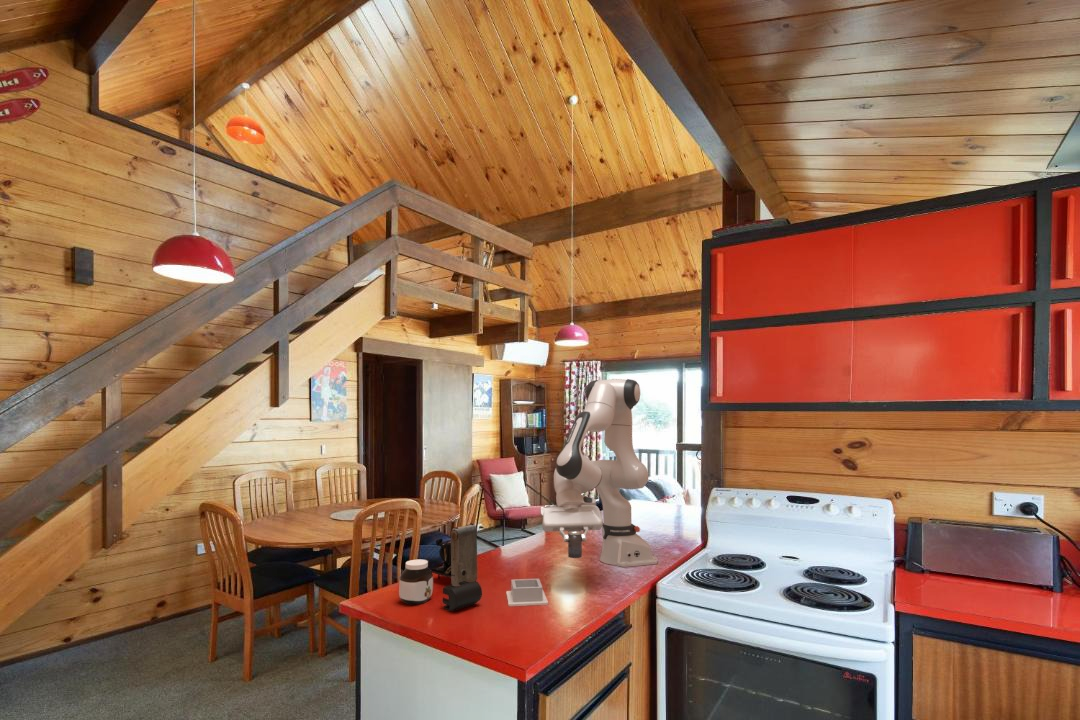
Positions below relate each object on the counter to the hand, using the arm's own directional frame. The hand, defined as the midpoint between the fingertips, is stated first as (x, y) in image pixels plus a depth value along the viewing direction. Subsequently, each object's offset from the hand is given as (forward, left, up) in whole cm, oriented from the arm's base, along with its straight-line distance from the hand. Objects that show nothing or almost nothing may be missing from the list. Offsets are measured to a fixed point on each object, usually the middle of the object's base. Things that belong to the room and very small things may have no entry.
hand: (575, 540), depth 175 cm
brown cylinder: (0, -1, -5) cm, 5 cm away
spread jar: (+51, -2, -17) cm, 54 cm away
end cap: (+36, +7, -17) cm, 41 cm away
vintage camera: (+40, -17, -17) cm, 47 cm away
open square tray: (+16, +2, -17) cm, 23 cm away
